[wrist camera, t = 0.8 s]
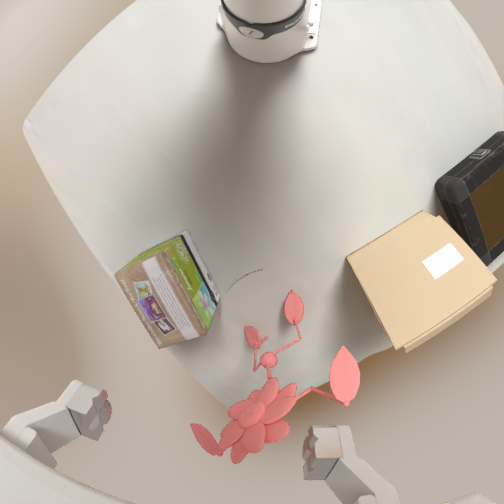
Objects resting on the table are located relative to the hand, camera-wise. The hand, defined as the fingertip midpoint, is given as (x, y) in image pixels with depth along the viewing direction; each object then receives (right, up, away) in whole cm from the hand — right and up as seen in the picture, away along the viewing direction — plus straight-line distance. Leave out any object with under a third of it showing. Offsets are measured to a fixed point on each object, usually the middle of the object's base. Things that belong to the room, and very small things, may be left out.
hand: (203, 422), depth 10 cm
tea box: (-11, +3, +48) cm, 49 cm away
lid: (+29, +2, +30) cm, 42 cm away
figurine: (+4, -4, +49) cm, 49 cm away
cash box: (+52, +19, +38) cm, 67 cm away
